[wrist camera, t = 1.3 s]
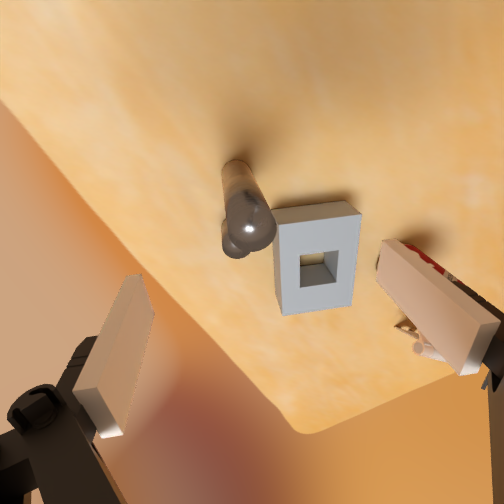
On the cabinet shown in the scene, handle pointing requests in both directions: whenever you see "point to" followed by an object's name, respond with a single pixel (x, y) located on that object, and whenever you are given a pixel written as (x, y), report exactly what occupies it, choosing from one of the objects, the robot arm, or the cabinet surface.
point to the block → (309, 242)
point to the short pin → (230, 244)
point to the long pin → (246, 209)
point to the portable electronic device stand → (423, 346)
